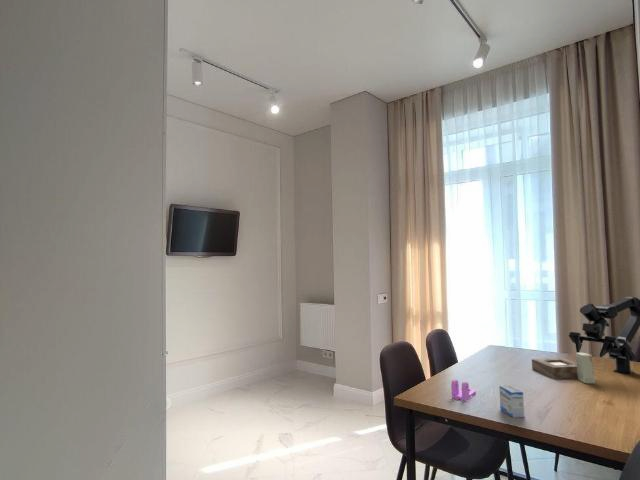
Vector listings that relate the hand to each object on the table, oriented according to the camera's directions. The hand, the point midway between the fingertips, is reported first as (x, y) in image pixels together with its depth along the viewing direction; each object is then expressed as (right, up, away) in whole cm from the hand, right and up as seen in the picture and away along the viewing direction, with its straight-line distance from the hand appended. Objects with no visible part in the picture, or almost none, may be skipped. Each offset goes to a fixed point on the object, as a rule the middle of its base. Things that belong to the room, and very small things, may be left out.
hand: (588, 354), depth 169 cm
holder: (-7, -12, +10) cm, 17 cm away
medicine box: (-54, -10, -36) cm, 66 cm away
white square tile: (-7, -9, +11) cm, 16 cm away
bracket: (-63, -12, -17) cm, 67 cm away
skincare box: (-4, -11, -3) cm, 12 cm away
